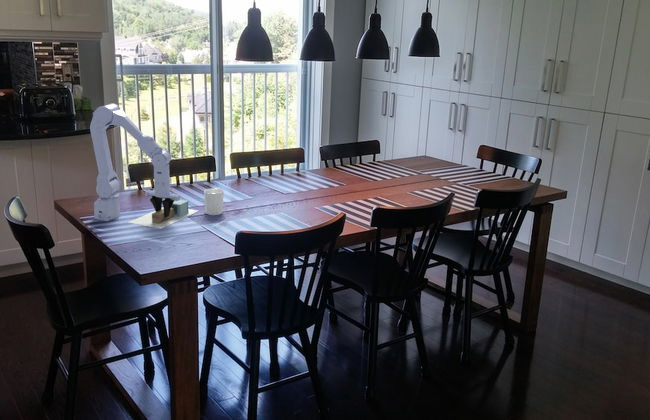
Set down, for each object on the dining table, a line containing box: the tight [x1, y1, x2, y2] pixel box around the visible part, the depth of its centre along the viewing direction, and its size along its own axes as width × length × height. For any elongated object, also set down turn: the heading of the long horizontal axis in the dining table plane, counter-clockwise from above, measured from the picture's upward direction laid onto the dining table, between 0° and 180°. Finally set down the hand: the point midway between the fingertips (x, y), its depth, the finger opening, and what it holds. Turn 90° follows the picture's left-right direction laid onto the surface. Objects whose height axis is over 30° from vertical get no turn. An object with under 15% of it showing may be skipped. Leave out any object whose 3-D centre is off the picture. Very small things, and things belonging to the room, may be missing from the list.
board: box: [127, 206, 199, 230], centre depth 239 cm, size 26×15×1 cm, turn 160°
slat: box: [152, 208, 174, 224], centre depth 234 cm, size 10×3×4 cm, turn 160°
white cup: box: [203, 187, 225, 216], centre depth 246 cm, size 8×8×10 cm
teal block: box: [171, 199, 189, 217], centre depth 242 cm, size 6×7×5 cm
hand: (162, 215), depth 234 cm, fingers closed on slat, 3 cm apart
